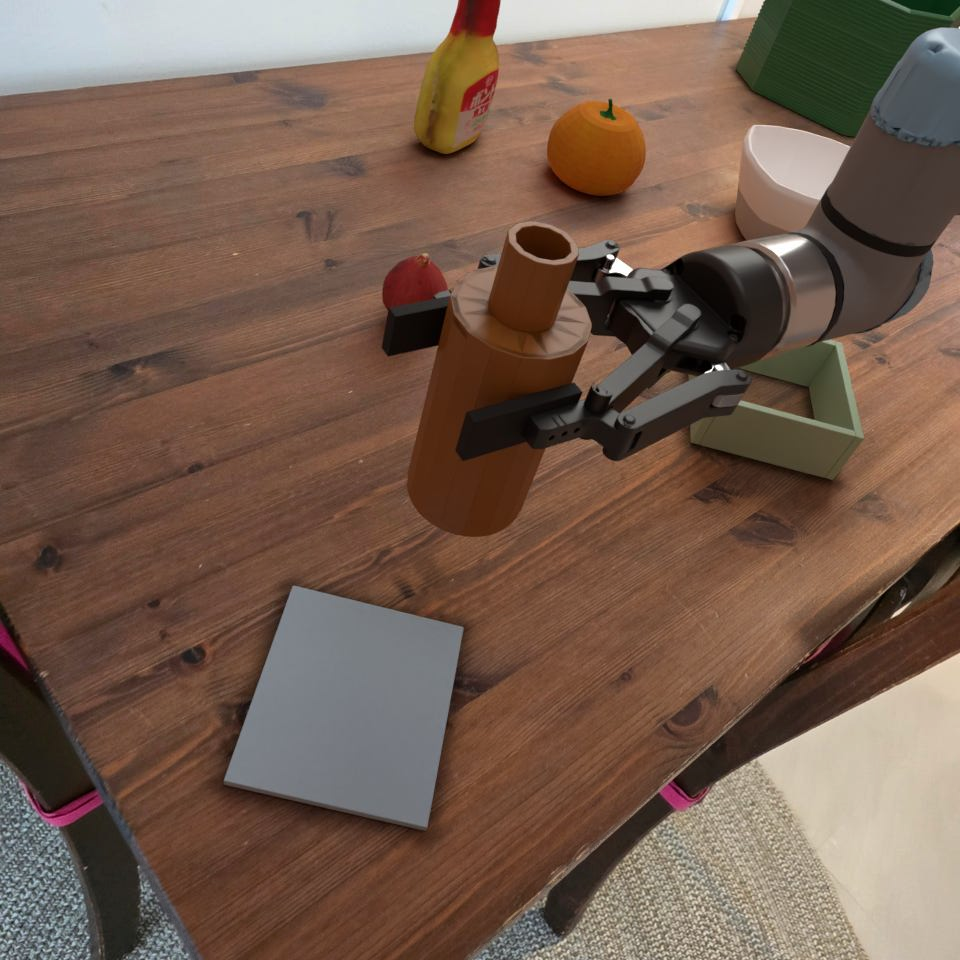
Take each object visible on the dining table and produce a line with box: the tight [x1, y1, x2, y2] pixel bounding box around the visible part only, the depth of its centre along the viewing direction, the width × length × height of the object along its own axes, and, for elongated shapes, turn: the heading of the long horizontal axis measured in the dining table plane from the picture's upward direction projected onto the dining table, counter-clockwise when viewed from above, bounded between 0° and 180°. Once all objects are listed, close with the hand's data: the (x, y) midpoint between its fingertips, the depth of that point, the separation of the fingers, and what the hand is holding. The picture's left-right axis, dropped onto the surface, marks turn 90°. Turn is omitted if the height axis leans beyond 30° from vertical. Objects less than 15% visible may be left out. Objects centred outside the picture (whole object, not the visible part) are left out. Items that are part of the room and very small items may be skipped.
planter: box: [735, 0, 960, 138], centre depth 137 cm, size 26×26×18 cm
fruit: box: [546, 98, 647, 197], centre depth 104 cm, size 12×12×10 cm
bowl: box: [734, 124, 851, 241], centre depth 106 cm, size 18×18×9 cm
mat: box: [223, 585, 465, 832], centre depth 56 cm, size 14×12×1 cm
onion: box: [381, 252, 449, 311], centre depth 79 cm, size 6×6×8 cm
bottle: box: [413, 0, 502, 155], centre depth 99 cm, size 12×6×20 cm, turn 141°
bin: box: [687, 339, 865, 481], centre depth 83 cm, size 14×14×6 cm
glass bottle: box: [406, 220, 592, 538], centre depth 48 cm, size 7×7×18 cm
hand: (425, 382), depth 44 cm, fingers closed on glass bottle, 7 cm apart
